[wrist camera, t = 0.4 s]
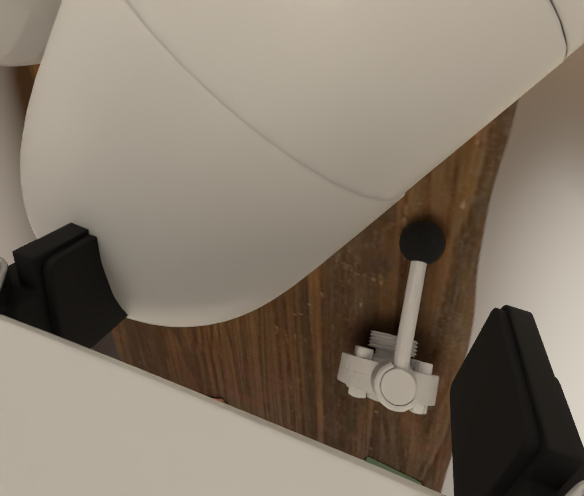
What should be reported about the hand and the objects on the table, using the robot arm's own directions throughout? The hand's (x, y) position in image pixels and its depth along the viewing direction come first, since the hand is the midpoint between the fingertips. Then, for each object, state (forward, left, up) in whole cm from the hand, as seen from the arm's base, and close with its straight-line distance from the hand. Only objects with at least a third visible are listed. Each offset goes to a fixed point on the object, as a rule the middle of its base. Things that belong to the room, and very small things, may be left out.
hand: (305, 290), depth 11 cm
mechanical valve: (+18, +8, -29) cm, 35 cm away
